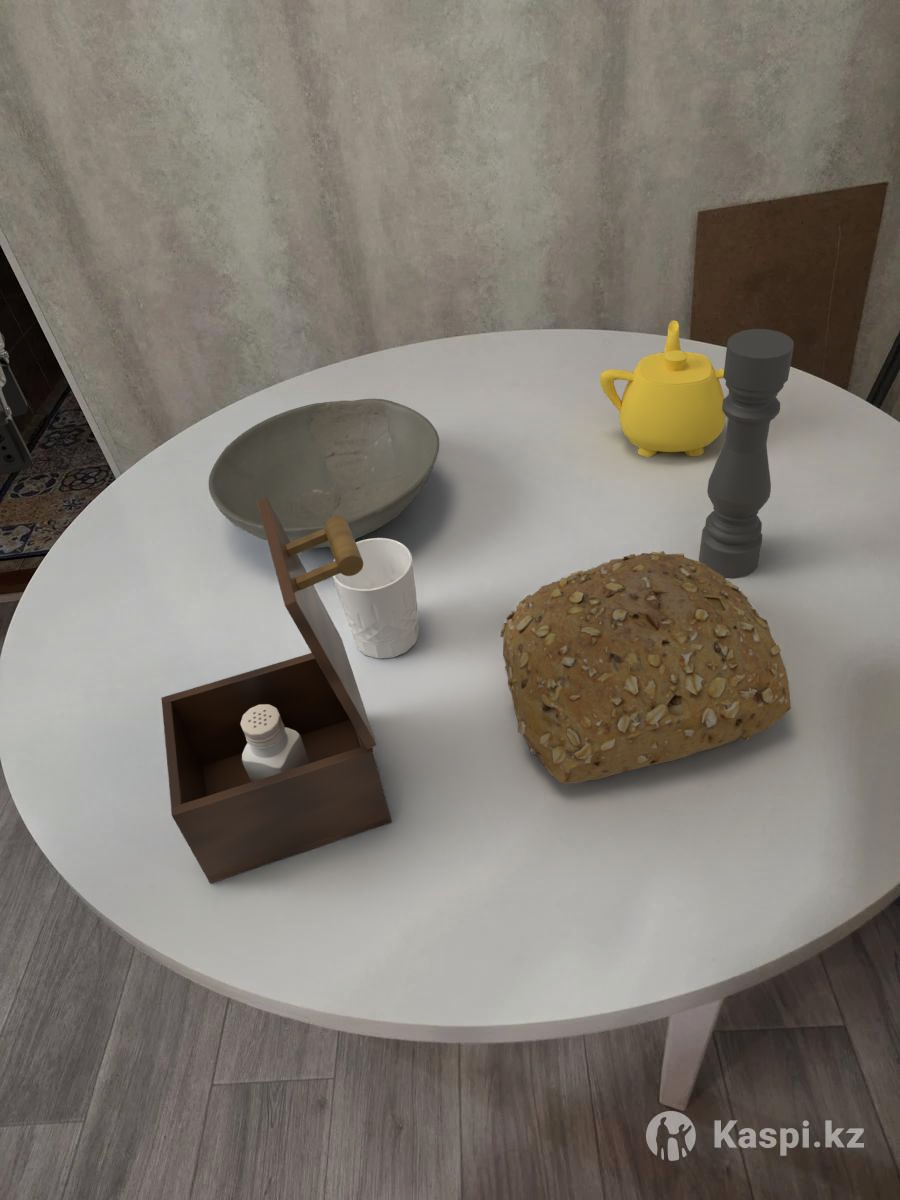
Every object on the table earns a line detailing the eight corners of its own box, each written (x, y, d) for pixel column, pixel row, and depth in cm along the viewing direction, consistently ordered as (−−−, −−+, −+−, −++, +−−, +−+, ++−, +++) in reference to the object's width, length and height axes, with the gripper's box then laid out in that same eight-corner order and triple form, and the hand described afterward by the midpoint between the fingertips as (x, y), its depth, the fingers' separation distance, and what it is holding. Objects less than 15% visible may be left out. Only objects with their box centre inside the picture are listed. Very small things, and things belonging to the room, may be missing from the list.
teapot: (751, 434, 111) (764, 348, 103) (675, 481, 105) (683, 394, 97) (667, 397, 119) (673, 315, 111) (593, 439, 113) (594, 356, 105)
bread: (696, 587, 91) (707, 493, 83) (810, 739, 75) (838, 642, 67) (474, 646, 88) (463, 555, 80) (545, 818, 72) (541, 726, 64)
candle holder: (722, 534, 97) (752, 321, 80) (770, 558, 93) (812, 340, 76) (686, 560, 94) (709, 345, 77) (734, 586, 90) (768, 367, 73)
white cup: (437, 619, 91) (425, 546, 84) (403, 671, 86) (388, 598, 79) (372, 603, 94) (356, 531, 87) (336, 653, 89) (315, 580, 82)
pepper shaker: (277, 765, 78) (249, 696, 72) (317, 774, 77) (292, 704, 70) (256, 802, 75) (226, 733, 69) (297, 811, 74) (270, 742, 68)
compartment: (209, 883, 71) (171, 815, 64) (195, 767, 80) (161, 697, 73) (392, 822, 73) (373, 751, 67) (358, 716, 82) (338, 644, 76)
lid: (284, 605, 55) (365, 571, 55) (256, 500, 64) (326, 471, 65) (367, 749, 66) (434, 720, 67) (333, 642, 76) (392, 617, 76)
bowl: (484, 469, 111) (479, 413, 105) (373, 609, 93) (360, 550, 88) (310, 435, 122) (297, 382, 116) (181, 554, 104) (158, 499, 99)
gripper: (-154, 194, 57) (-36, 412, 67) (-184, 262, 46) (-39, 506, 57) (-35, 169, 58) (62, 386, 69) (-39, 230, 48) (75, 473, 59)
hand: (16, 440), depth 63 cm, fingers open, 8 cm apart
